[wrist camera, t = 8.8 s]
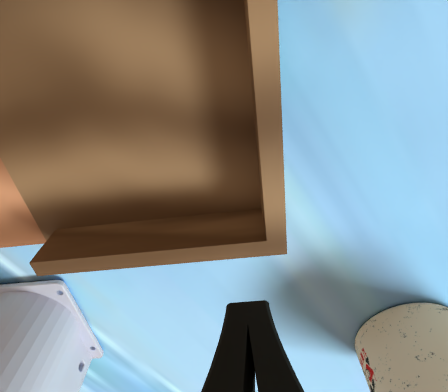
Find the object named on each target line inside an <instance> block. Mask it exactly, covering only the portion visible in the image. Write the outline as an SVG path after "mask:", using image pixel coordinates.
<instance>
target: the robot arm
mask: <svg viewBox="0 0 448 392" xmlns="http://www.w3.org/2000/svg"><path fill="white" fill-rule="evenodd" d="M103 353H104V352H103V350H102V348H101V346H100V344H99V342H98V341H97V339H96V337H95V335H94V334H93V332H92V330H91V328H90V326H89V325H88V323H87V321H86V319H85V318H84V316H83V314H82V312H81V311H80V309H79V307H78V305H77V303H76V302H75V300H74V298H73V296H72V295H71V293H70V291H69V289H68V288H67V286H66V284H65V283H64V282H63V281H61V280H49V281H38V282H26V283H15V284H3V285H0V392H79V390H80V388H81V385H82V383H83V380H84V378H85V375H86V373H87V370H88V368H89V365H90V363H91V360H92V359H93V358H101V357H102V356H103ZM255 373H256V380H257V386H258V392H304V390H303V388H302V386H301V384H300V382H299V380H298V378H297V376H296V374H295V372H294V370H293V368H292V366H291V364H290V362H289V359H288V357H287V355H286V353H285V350H284V348H283V346H282V343H281V341H280V339H279V336H278V333H277V331H276V328H275V325H274V322H273V319H272V315H271V312H270V308H269V303H268V302H267V301H265V300H264V301H251V302H238V303H229V304H228V305H227V307H226V314H225V319H224V323H223V328H222V332H221V335H220V339H219V342H218V346H217V349H216V352H215V355H214V358H213V361H212V364H211V367H210V370H209V373H208V375H207V378H206V381H205V383H204V386H203V389H202V391H201V392H255Z"/></svg>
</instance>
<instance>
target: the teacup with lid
mask: <svg viewBox="0 0 448 392" xmlns="http://www.w3.org/2000/svg"><path fill="white" fill-rule="evenodd" d="M355 350H356V353H357V356H358V359H359V361H360V364H361V367H362V370H363V372H364V375H365V378H366V381H367V383H368V386H369V389H370V392H448V307H445V306H442V305H439V304H434V303H409V304H403V305H399V306H395V307H392V308H389V309H387V310H384V311H382V312H380V313H378V314H376V315H375V316H373V317H372V318H370V319H369V320H368V321H367V322H366V323H364V325H363V326H362V327H361V328H360V329H359V331H358V333H357V335H356V338H355Z"/></svg>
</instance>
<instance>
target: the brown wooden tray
mask: <svg viewBox="0 0 448 392" xmlns="http://www.w3.org/2000/svg"><path fill="white" fill-rule="evenodd" d="M43 243H45V244H44V245H43V246H42V247H41V249H40V250H39V251H38V252H37V254H36V255H35V256H34V258H33V259H32V260H31V261H30V265H31V267H32V268H33V270H34V271H35V273H36V275H37V276H43V275H54V274H65V273H77V272H88V271H99V270H111V269H122V268H133V267H145V266H156V265H168V264H179V263H190V262H202V261H213V260H224V259H236V258H247V257H258V256H270V255H281V254H287V240H286V214H285V188H284V162H283V136H282V110H281V84H280V58H279V32H278V6H277V0H0V248H2V247H13V246H23V245H33V244H43Z"/></svg>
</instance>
